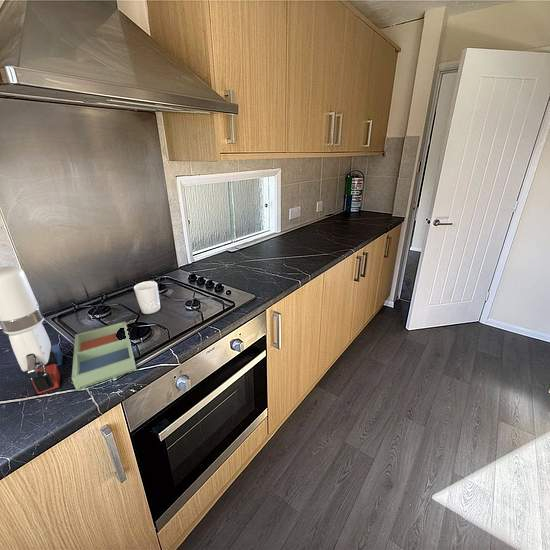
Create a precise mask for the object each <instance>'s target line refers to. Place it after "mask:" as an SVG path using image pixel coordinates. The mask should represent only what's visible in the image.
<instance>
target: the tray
mask: <svg viewBox="0 0 550 550" xmlns="http://www.w3.org/2000/svg"><path fill="white" fill-rule="evenodd" d="M122 327H124V331H125V336H126V338H125V339H122V340H118V339H117V338H116V334H117V333H116V332H117V331H118V330H119V329H120V328H122ZM127 329H128V326H127V322H126V321H122V322H118V323H114V324H110V325H107V326H103V327H99V328H95V329H92V330H88V331H84V332H80V333H76V334H75V335H74V345H73V354H72V355H73V357H72V370H71V381H72V384H73V386H74V388H75V391H79V390H82V389H85V388H88V387H91V386H93V385H97V384H98V383H99V384H100V383H102V382H105V381H107V380H111V379H113V378H117V377H119V376H123V375H126V374H128V373H131V372H134V371H137V364H136V361H135V356H134V351H133V347H132V343H131V338H130V334H129V335H128V333H129V330H128V331H127ZM129 338H130V339H129Z"/></svg>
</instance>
